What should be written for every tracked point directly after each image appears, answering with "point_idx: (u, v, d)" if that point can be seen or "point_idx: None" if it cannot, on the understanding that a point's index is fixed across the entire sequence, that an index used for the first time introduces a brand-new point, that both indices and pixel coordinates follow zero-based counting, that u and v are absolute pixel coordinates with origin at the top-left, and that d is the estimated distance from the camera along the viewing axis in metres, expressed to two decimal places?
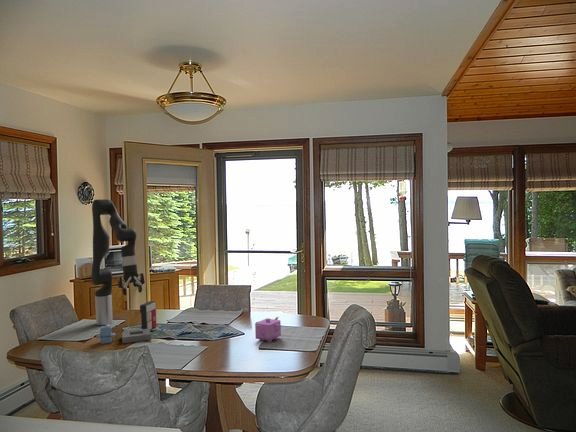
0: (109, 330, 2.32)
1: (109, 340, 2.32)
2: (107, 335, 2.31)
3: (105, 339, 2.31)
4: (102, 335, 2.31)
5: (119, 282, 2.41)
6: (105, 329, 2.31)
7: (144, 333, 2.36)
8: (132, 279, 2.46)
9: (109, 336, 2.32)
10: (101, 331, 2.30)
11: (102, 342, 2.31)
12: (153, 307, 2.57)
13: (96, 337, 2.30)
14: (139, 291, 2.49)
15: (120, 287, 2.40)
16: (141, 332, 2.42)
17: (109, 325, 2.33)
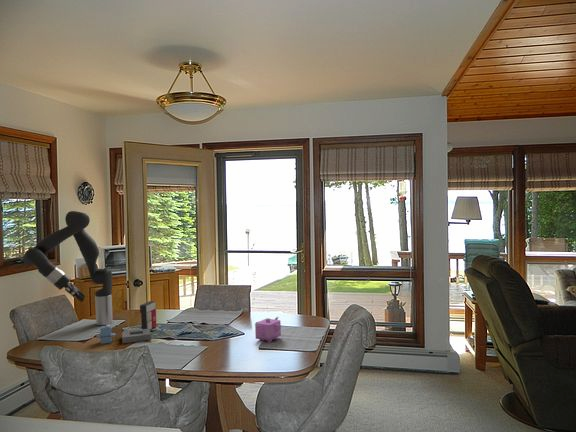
0: (109, 330, 2.32)
1: (109, 340, 2.32)
2: (107, 335, 2.31)
3: (105, 339, 2.31)
4: (102, 335, 2.31)
5: None
6: (105, 329, 2.31)
7: (144, 333, 2.36)
8: None
9: (109, 336, 2.32)
10: (101, 331, 2.31)
11: (102, 342, 2.31)
12: (153, 307, 2.57)
13: (96, 337, 2.30)
14: None
15: None
16: (141, 332, 2.42)
17: (109, 325, 2.33)
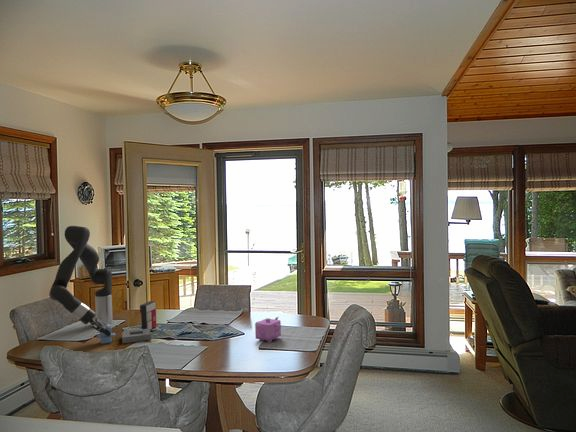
0: (109, 330, 2.32)
1: (109, 340, 2.32)
2: None
3: (105, 339, 2.31)
4: (102, 335, 2.31)
5: None
6: None
7: (144, 333, 2.36)
8: None
9: (109, 336, 2.32)
10: None
11: (102, 342, 2.31)
12: (153, 307, 2.57)
13: (96, 337, 2.30)
14: None
15: None
16: (141, 332, 2.42)
17: (109, 325, 2.33)
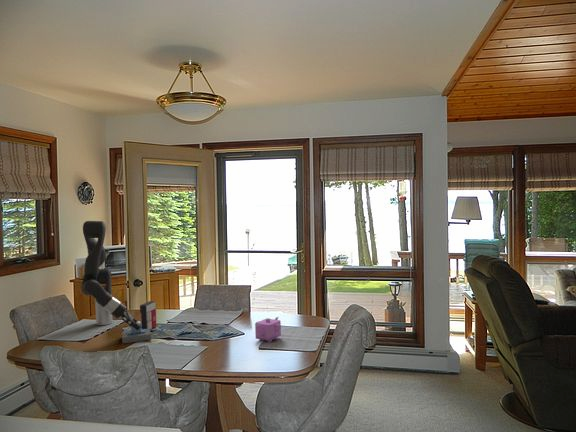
0: None
1: None
2: (137, 332, 2.36)
3: None
4: (132, 332, 2.36)
5: None
6: None
7: (144, 333, 2.36)
8: None
9: (139, 333, 2.37)
10: (132, 328, 2.35)
11: None
12: (153, 307, 2.57)
13: (127, 333, 2.35)
14: None
15: None
16: None
17: (139, 322, 2.38)
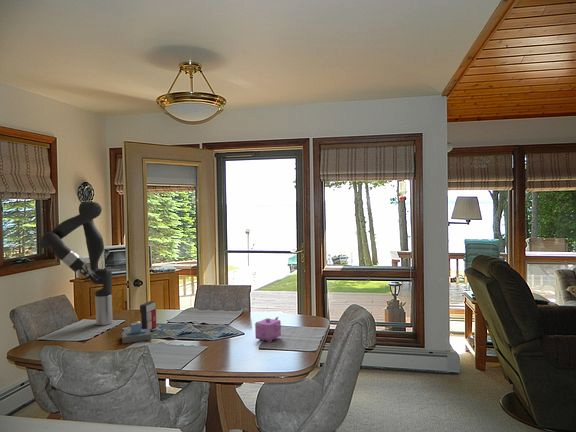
0: (139, 327, 2.37)
1: None
2: (137, 332, 2.36)
3: None
4: (132, 332, 2.36)
5: None
6: (136, 326, 2.36)
7: (144, 333, 2.36)
8: None
9: (139, 333, 2.37)
10: (132, 328, 2.35)
11: None
12: (153, 307, 2.57)
13: (127, 333, 2.35)
14: None
15: None
16: None
17: (139, 322, 2.38)
